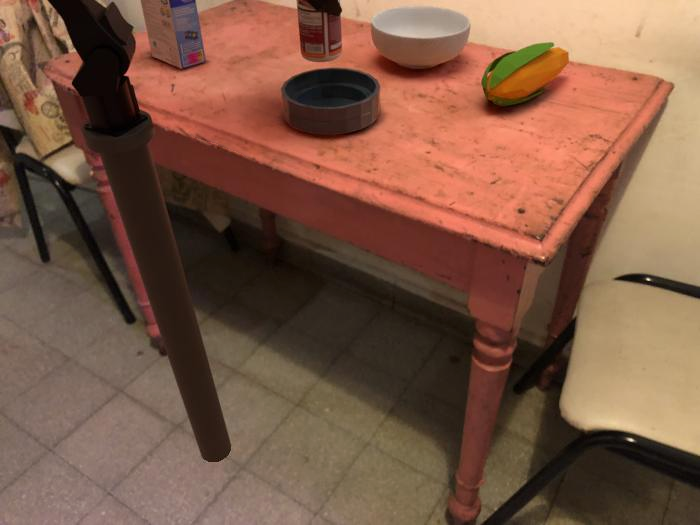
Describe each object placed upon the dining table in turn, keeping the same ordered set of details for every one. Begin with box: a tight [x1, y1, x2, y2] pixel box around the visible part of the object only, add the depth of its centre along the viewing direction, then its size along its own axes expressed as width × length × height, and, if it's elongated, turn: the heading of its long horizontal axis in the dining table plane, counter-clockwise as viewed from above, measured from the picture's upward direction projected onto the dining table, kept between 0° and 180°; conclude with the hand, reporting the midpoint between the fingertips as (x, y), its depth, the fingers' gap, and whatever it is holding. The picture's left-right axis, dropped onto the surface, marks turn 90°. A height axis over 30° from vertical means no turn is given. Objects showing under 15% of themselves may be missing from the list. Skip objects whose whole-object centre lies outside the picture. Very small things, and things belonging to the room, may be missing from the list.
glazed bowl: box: [280, 67, 381, 136], centre depth 86 cm, size 14×14×4 cm
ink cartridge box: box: [140, 0, 207, 70], centre depth 102 cm, size 10×6×14 cm, turn 47°
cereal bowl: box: [370, 5, 471, 70], centre depth 101 cm, size 17×17×7 cm
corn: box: [480, 41, 570, 107], centre depth 90 cm, size 7×8×20 cm
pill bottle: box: [296, 0, 343, 63], centre depth 85 cm, size 6×6×11 cm
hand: (327, 8), depth 85 cm, fingers closed on pill bottle, 6 cm apart
